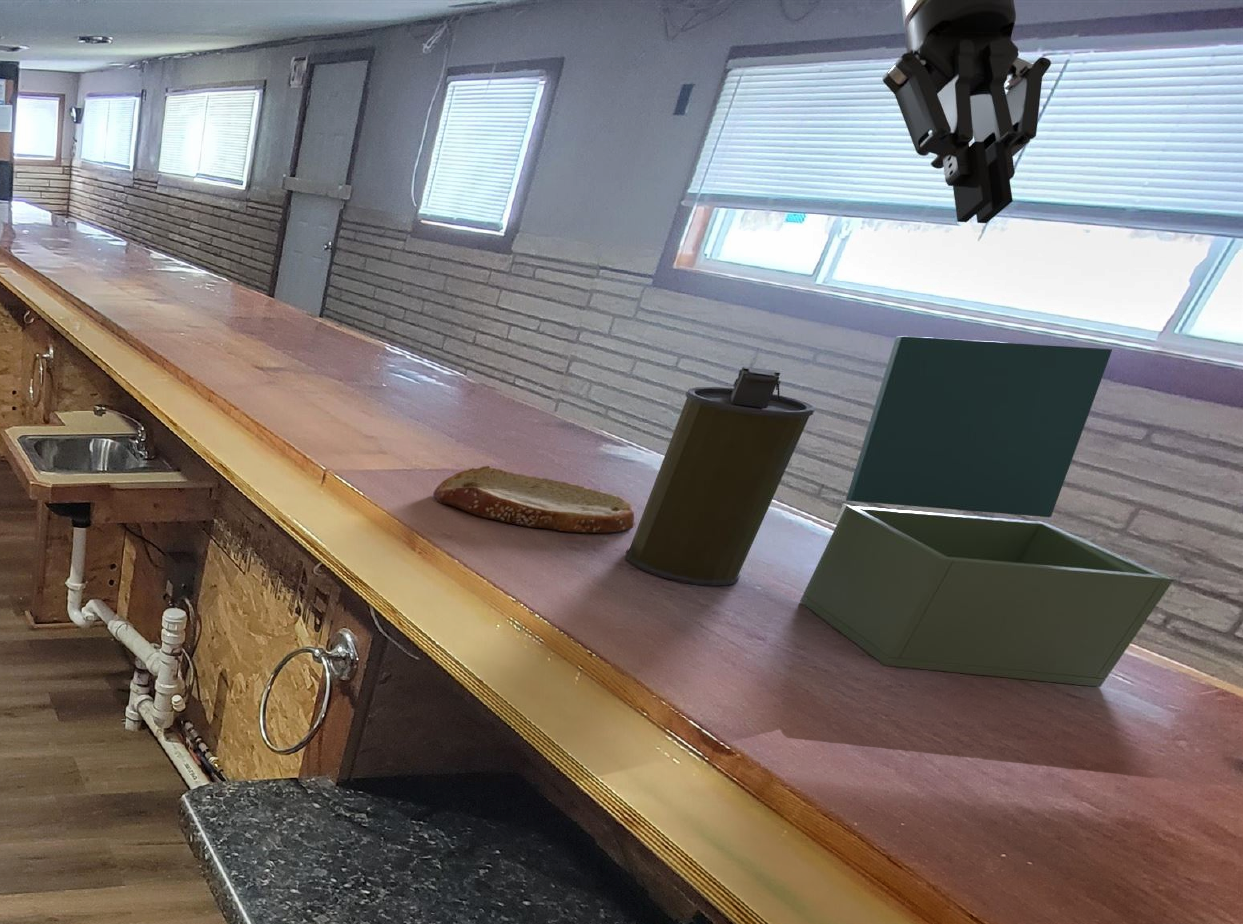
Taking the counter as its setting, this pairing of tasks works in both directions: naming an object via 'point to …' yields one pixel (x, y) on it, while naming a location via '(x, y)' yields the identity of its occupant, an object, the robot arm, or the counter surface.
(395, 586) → the counter surface
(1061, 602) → the box
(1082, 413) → the lid
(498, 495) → the bread slice
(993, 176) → the robot arm
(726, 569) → the canister
